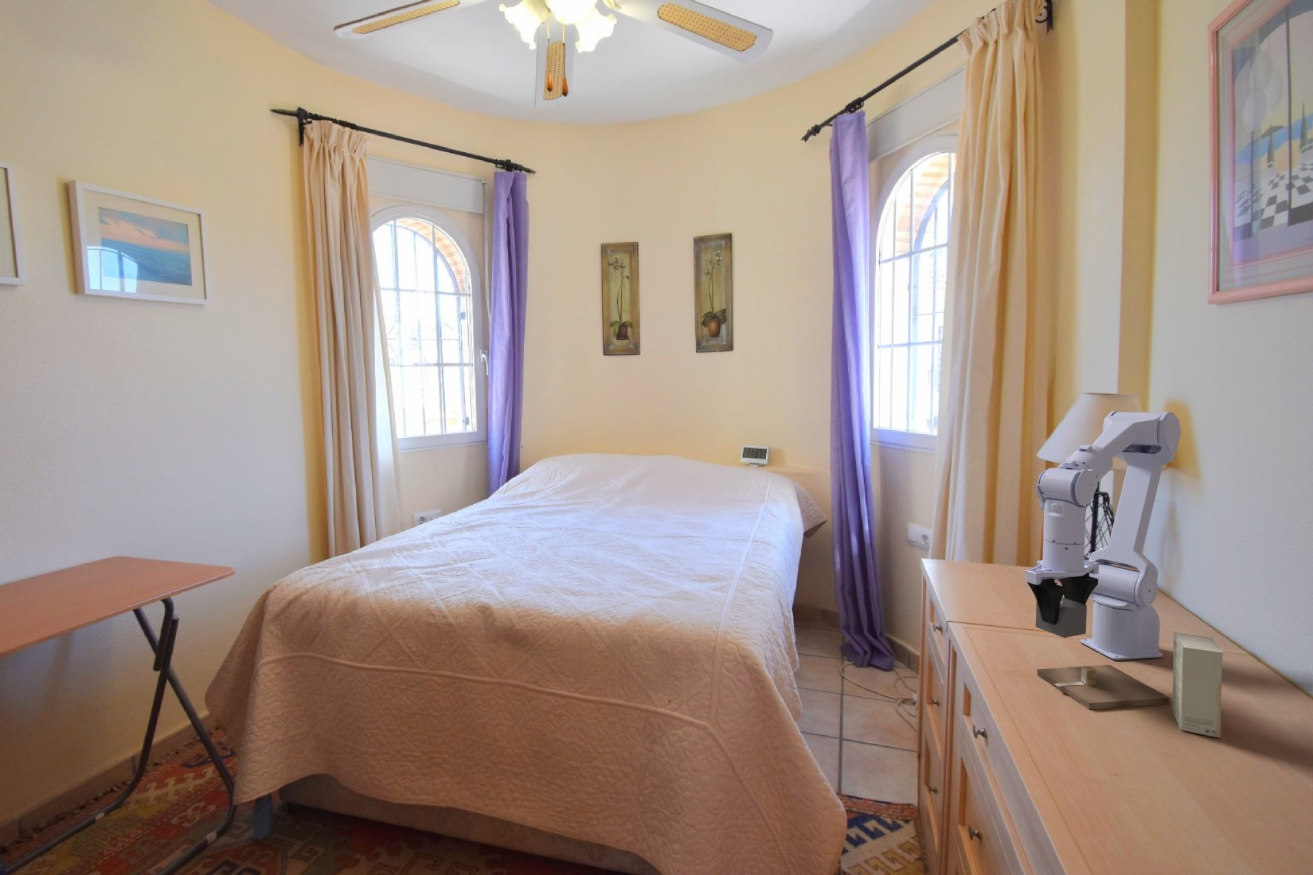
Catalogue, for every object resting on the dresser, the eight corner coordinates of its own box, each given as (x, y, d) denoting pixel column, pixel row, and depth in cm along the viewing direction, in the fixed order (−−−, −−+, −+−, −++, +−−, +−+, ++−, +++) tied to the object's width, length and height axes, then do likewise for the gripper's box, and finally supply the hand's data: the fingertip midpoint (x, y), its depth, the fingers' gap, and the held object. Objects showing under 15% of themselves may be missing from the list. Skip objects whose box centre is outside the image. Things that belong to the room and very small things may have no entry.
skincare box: (1221, 739, 82) (1225, 653, 81) (1178, 730, 84) (1182, 646, 83) (1209, 717, 87) (1213, 636, 86) (1169, 709, 89) (1173, 630, 88)
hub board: (1109, 670, 102) (1110, 650, 101) (1169, 703, 91) (1170, 681, 90) (1032, 675, 101) (1032, 655, 100) (1083, 709, 90) (1084, 687, 89)
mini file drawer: (1056, 622, 104) (1057, 595, 103) (1085, 633, 99) (1086, 604, 98) (1035, 626, 102) (1036, 598, 102) (1064, 637, 97) (1065, 608, 97)
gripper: (1070, 530, 105) (1068, 605, 106) (1009, 539, 100) (1007, 617, 102) (1112, 539, 99) (1110, 619, 100) (1049, 549, 94) (1047, 633, 95)
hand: (1061, 619), depth 100 cm, fingers closed on mini file drawer, 5 cm apart
